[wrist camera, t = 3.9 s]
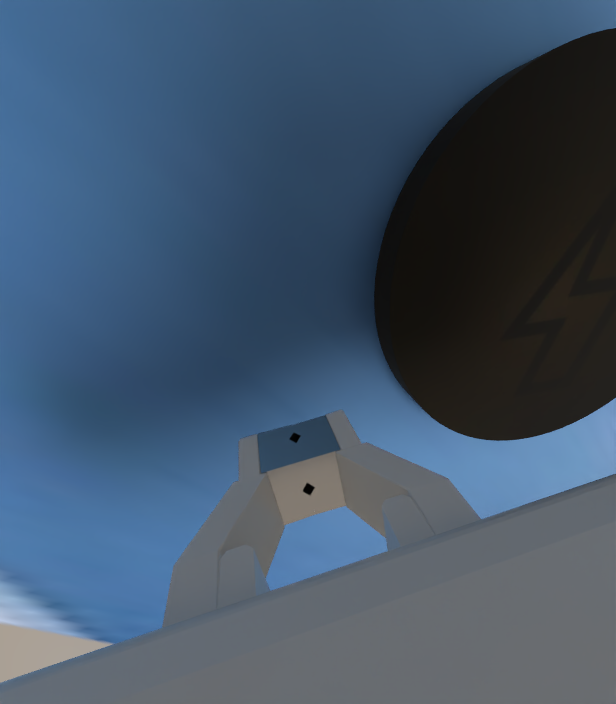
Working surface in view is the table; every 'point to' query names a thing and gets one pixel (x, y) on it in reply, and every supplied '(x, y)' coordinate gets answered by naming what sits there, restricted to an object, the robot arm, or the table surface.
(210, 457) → the table surface
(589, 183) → the wireless charger
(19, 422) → the table surface
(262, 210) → the table surface
